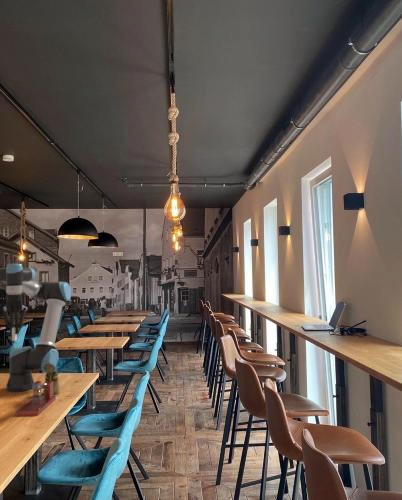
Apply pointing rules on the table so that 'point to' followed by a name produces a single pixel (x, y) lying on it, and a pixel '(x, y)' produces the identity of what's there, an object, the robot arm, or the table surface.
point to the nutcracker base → (38, 407)
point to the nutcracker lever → (33, 386)
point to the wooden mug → (51, 378)
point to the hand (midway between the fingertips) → (14, 340)
